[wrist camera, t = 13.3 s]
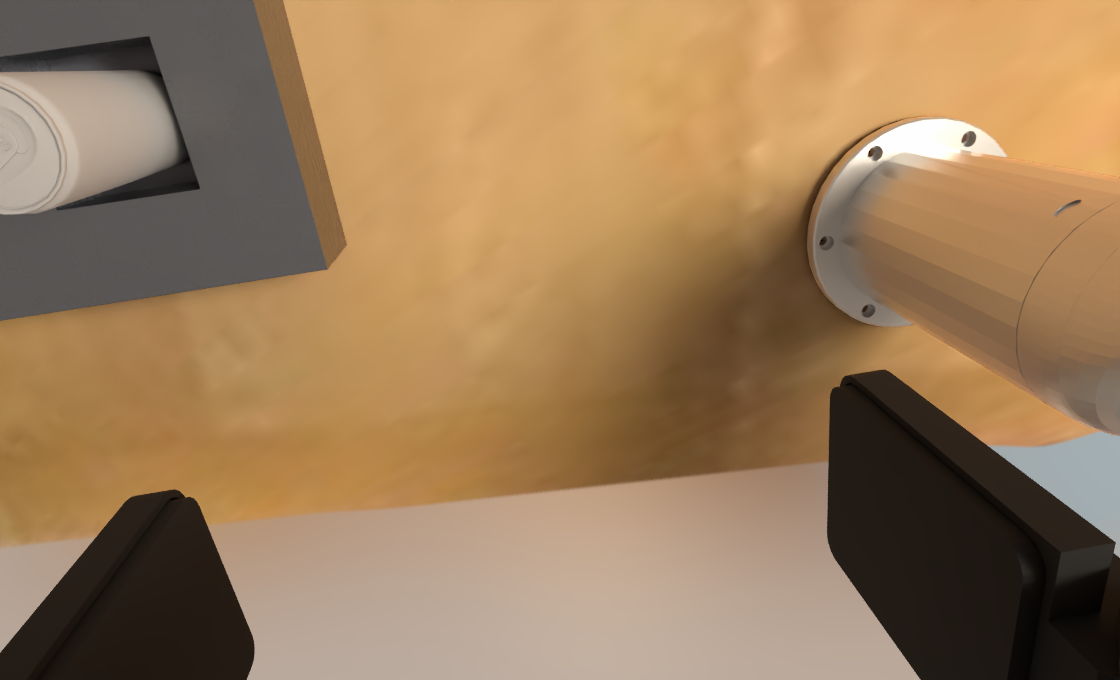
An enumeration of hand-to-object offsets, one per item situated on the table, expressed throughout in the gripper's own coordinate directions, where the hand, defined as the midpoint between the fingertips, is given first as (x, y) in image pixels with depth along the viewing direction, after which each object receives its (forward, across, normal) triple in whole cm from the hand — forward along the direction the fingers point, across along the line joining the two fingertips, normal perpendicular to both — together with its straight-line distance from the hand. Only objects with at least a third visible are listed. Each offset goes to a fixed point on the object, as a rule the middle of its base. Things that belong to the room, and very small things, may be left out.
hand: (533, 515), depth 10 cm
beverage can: (+30, +17, -6) cm, 34 cm away
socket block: (+30, +17, -6) cm, 35 cm away
